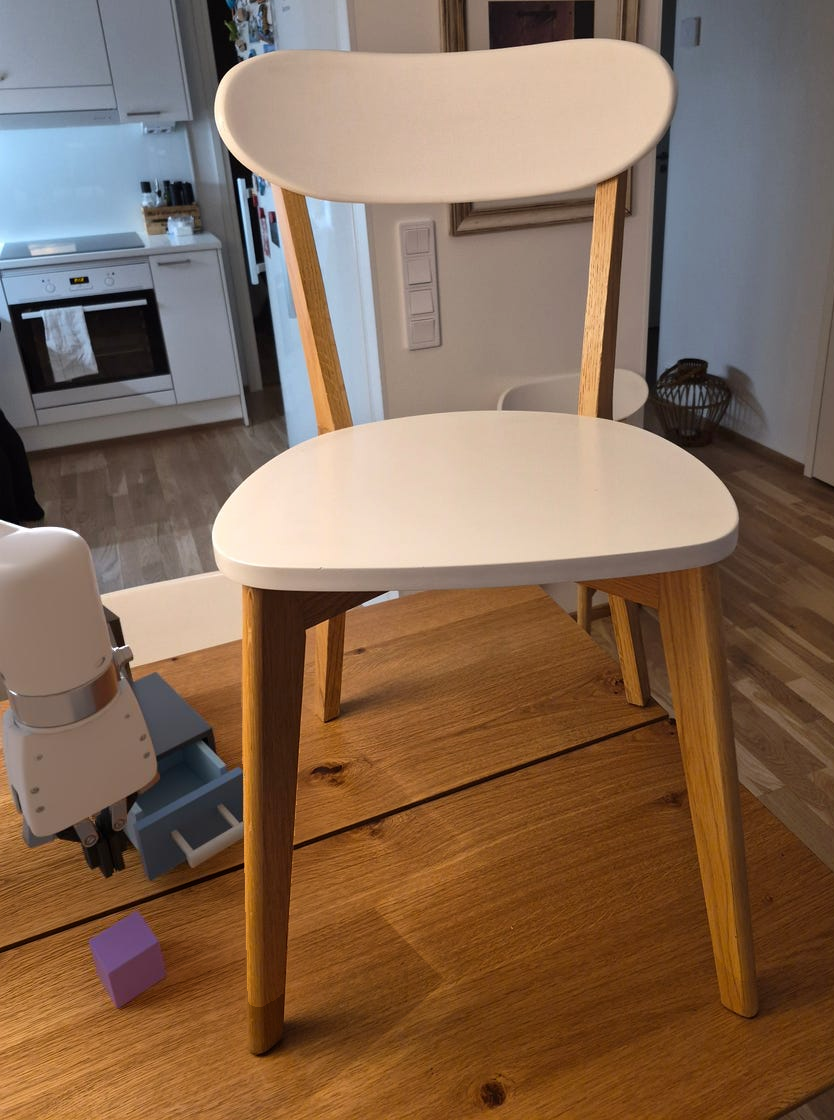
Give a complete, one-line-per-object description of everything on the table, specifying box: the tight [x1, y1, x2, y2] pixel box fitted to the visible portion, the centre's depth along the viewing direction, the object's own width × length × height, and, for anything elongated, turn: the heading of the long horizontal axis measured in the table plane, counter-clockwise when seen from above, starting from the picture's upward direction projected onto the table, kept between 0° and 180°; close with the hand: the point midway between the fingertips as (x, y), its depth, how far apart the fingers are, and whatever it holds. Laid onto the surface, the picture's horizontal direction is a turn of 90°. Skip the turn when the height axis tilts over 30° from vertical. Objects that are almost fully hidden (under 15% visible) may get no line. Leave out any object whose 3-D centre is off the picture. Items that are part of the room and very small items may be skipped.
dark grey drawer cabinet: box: [91, 671, 218, 842], centre depth 97 cm, size 15×13×9 cm
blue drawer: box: [123, 740, 245, 883], centre depth 90 cm, size 19×11×7 cm, turn 44°
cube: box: [88, 910, 167, 1010], centre depth 76 cm, size 4×4×4 cm
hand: (109, 864), depth 72 cm, fingers closed
